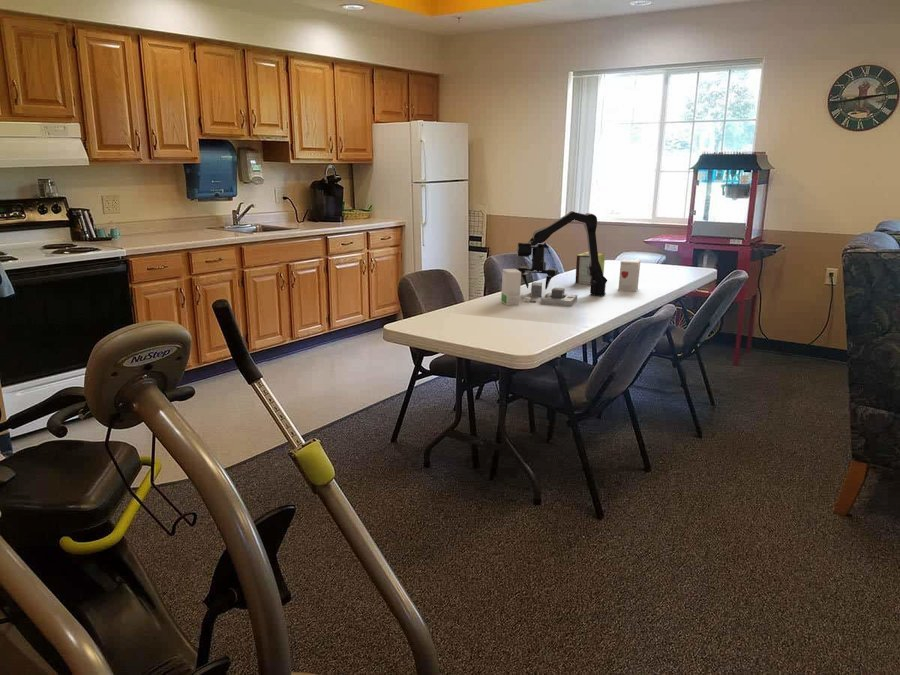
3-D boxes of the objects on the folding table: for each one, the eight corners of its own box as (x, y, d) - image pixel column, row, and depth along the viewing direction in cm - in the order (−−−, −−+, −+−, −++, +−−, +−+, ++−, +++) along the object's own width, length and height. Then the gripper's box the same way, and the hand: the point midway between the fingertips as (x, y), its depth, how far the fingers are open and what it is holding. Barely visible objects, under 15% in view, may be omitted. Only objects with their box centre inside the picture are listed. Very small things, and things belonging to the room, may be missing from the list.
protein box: (603, 281, 354) (605, 252, 349) (593, 285, 341) (595, 256, 337) (585, 279, 359) (586, 251, 355) (574, 283, 347) (576, 254, 342)
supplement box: (617, 290, 329) (620, 261, 325) (620, 287, 337) (622, 258, 333) (636, 291, 326) (638, 262, 322) (638, 288, 334) (640, 259, 330)
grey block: (563, 301, 304) (564, 287, 302) (561, 303, 300) (562, 289, 298) (553, 300, 306) (554, 286, 304) (551, 302, 301) (551, 288, 300)
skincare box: (500, 302, 301) (501, 268, 297) (514, 301, 302) (515, 268, 298) (506, 305, 293) (507, 271, 289) (520, 305, 295) (521, 271, 290)
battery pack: (541, 293, 321) (542, 282, 320) (541, 297, 312) (541, 285, 311) (531, 293, 322) (531, 282, 320) (530, 296, 313) (531, 285, 312)
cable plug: (537, 301, 303) (537, 297, 302) (535, 302, 300) (535, 299, 299) (526, 300, 304) (526, 297, 304) (524, 301, 302) (524, 298, 301)
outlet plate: (577, 300, 305) (577, 294, 304) (571, 306, 293) (571, 300, 292) (548, 297, 310) (548, 292, 309) (540, 303, 298) (541, 298, 297)
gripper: (560, 255, 316) (559, 287, 320) (523, 253, 323) (522, 284, 327) (555, 259, 306) (554, 291, 310) (517, 256, 313) (516, 288, 317)
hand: (536, 288), depth 316 cm, fingers open, 9 cm apart
